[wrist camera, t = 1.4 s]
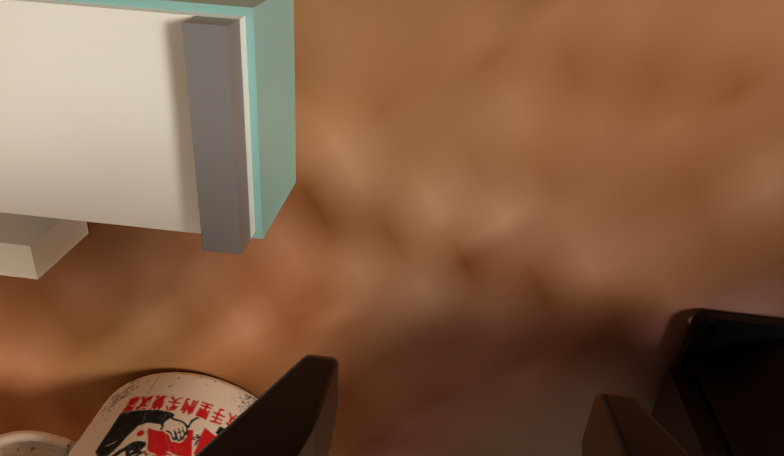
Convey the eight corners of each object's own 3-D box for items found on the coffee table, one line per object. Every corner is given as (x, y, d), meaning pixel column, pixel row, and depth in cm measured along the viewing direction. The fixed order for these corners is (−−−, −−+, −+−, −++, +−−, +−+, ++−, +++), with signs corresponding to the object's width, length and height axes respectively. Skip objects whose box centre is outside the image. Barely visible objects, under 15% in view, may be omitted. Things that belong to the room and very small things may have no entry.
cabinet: (295, -16, 18) (236, 17, 13) (297, 179, 21) (248, 261, 16) (22, -38, 18) (-125, -14, 14) (61, 155, 21) (-50, 229, 17)
